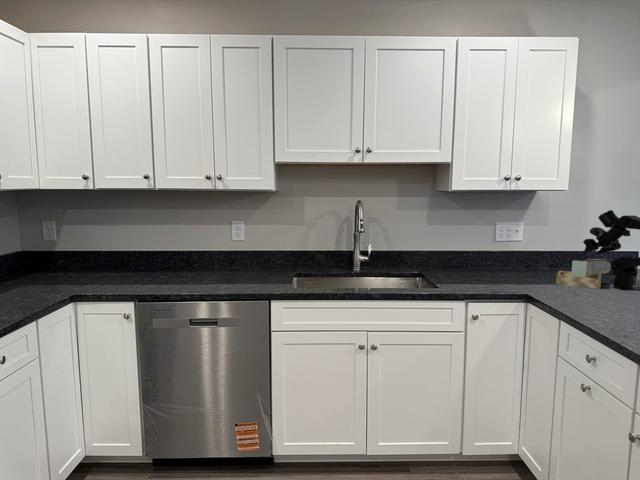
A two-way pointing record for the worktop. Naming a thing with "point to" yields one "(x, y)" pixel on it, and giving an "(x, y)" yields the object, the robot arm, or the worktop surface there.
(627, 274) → the robot arm
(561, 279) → the wooden board
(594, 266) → the tin
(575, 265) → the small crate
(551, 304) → the worktop surface
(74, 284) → the worktop surface
